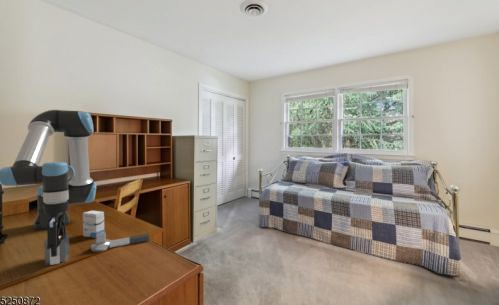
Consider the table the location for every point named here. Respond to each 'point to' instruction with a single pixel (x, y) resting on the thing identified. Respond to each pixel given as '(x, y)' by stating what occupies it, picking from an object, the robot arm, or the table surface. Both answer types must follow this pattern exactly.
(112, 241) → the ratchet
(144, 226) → the table surface
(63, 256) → the cube with brass button
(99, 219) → the ink box
